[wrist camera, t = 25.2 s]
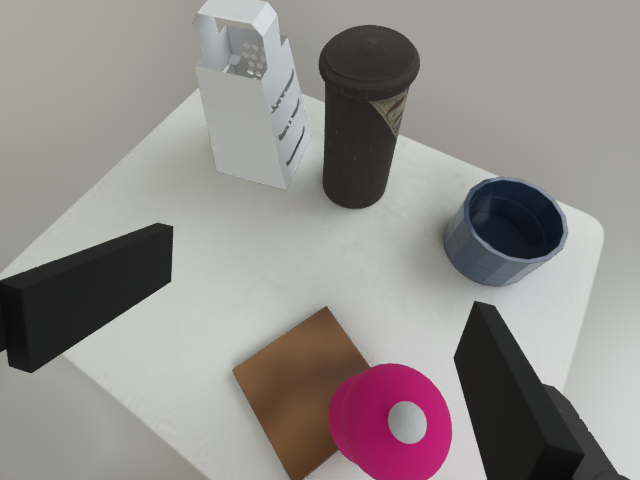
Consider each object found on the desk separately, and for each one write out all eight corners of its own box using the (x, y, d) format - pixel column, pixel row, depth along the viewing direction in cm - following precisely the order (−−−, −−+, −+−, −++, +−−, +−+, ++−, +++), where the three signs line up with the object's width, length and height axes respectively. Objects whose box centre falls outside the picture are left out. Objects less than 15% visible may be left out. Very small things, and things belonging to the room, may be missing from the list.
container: (389, 210, 45) (432, 78, 27) (321, 213, 45) (319, 81, 27) (382, 159, 49) (415, 14, 31) (319, 161, 49) (316, 17, 31)
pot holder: (394, 403, 34) (396, 402, 34) (295, 484, 31) (294, 486, 31) (326, 308, 39) (326, 305, 38) (234, 371, 36) (231, 370, 35)
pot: (549, 255, 42) (589, 227, 35) (489, 303, 39) (520, 282, 33) (484, 196, 46) (509, 162, 39) (426, 236, 43) (443, 206, 37)
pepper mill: (313, 427, 33) (299, 446, 15) (353, 362, 35) (381, 311, 18) (378, 479, 31) (451, 572, 13) (415, 406, 33) (518, 399, 16)
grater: (247, 120, 53) (208, -30, 35) (311, 135, 51) (304, -13, 33) (217, 171, 48) (154, 29, 30) (285, 190, 47) (261, 52, 29)
